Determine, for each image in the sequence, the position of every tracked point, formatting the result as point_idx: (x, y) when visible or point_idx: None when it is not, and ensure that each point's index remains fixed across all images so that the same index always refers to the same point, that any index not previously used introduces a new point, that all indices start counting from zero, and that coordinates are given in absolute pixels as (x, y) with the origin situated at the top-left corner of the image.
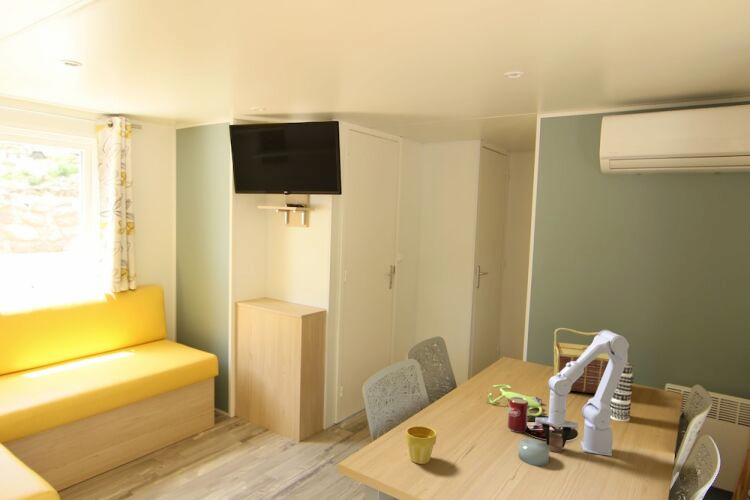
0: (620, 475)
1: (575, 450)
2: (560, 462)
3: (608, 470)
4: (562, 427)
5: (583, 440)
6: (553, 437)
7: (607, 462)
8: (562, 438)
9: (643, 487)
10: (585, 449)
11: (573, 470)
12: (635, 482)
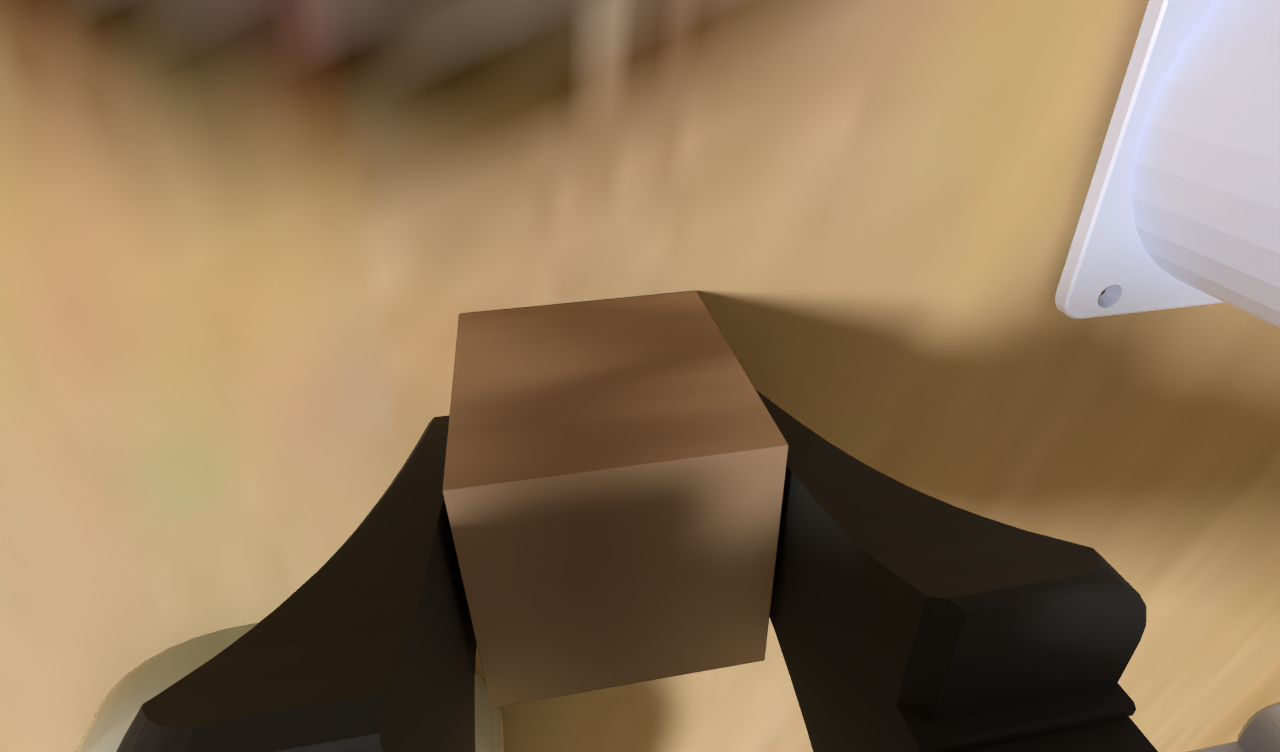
0: (1183, 633)
1: (932, 292)
2: (642, 683)
3: None
4: (896, 617)
5: (1254, 122)
6: (573, 669)
7: (1221, 451)
8: (766, 623)
9: (1250, 705)
10: (1114, 258)
11: (757, 746)
12: (1239, 673)
